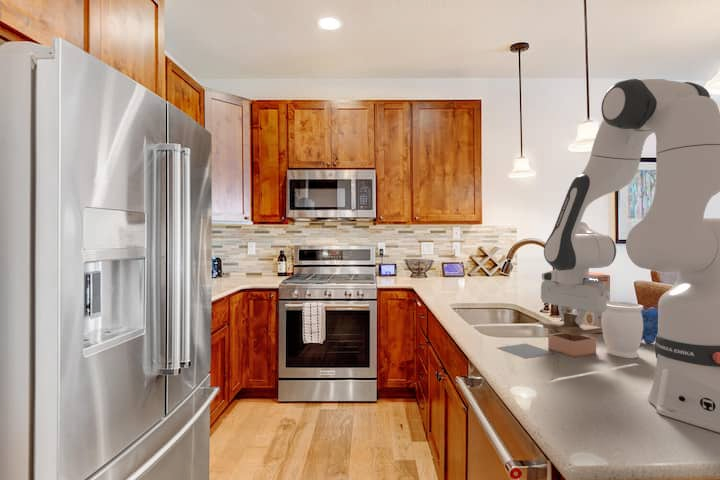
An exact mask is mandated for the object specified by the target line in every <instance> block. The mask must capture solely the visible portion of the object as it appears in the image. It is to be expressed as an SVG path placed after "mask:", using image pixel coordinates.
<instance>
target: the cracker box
mask: <svg viewBox="0 0 720 480" xmlns="http://www.w3.org/2000/svg"><path fill="white" fill-rule="evenodd" d="M589 279H594V280H595V279H597V280H600V282H602V283H603V284H604V286H605V296H606V302H611V300H610V299H611V298H610V297H611V275H609V274H603V273H598V272H591V271H589ZM599 284H601V283H599ZM574 313H575V314H579V313H577V309H574ZM601 320H602V313H593V312H588V311H586V314H585V316H584V317H583V318H582V323H583V324H588V325H592V326H596V327H600V328H602V324H601ZM596 334H603V331H602V332H597V333H596Z"/></svg>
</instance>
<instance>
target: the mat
mask: <svg viewBox="0 0 720 480" xmlns="http://www.w3.org/2000/svg"><path fill="white" fill-rule="evenodd" d="M497 349H498V350H500V351H504V352H506V353H508V354H509V353H510V354H511V355H514V356H517V357H520V358H522V359H525V360H527V359H533V358H539V357H546V356H552V355H557V353H558V352H557V353H556V352H555V351H552V350H549V349H548V350H547V349H545V348H541V347H538V346H535V345H532V344H528V343H520V344H513V345H506V346H505V345H504V346H500V347H499V346H498V347H497Z"/></svg>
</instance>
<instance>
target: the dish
mask: <svg viewBox="0 0 720 480" xmlns="http://www.w3.org/2000/svg"><path fill="white" fill-rule="evenodd" d="M547 336H548V345H547V346H548V347H547V349H548V351H551V352H555V353H556V352H557V353H559V354H562V355H565V356H567V357H572V358H579V357H583V356H589V355H590V356H591V355H596V354H597V338H595V337H591V336H588V335H585V334H584V335H577V336H573V335H569V334H566V333H562V332H559V333H551V334H548V335H547Z"/></svg>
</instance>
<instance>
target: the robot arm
mask: <svg viewBox="0 0 720 480" xmlns="http://www.w3.org/2000/svg"><path fill="white" fill-rule="evenodd" d="M601 115H602V121H601V123H600V125H599V127H598V130H597V133H596V135H595V138H594V141H593V144H592V148H591V151H590V156H589V160H588V161H587V164H586V166H585V167H584V169H583V171H582V172H581V173H580V174H579V175H577V177H575V178H574V179H573V181H572V182H571V184H570V186H569V188H568V190H567V193H566V195H565V198H564V200H563V204H561V205H562V206H561V208H560V211H559V214H558V216H557V219H556V221H555V224H554V227H553V229H552V232H551V233H550V235H549V237H548V238H547V240H546V242H545V244H544V247H543V256H544V260H546V262H547V263H548V264H549V266H551V268H553V270H550V271H546V272H543V273H541V279H542V282H541V286H540V299H541V301H542V303H544V304H549V305H554V306H557V309H558V312H559V315H561V316H560V318H561V319H560V320H561V321H564V313H567V309H569V308H570V309H574V310H575V309H577V313H579V314H578V316H577V318H574V324H578V325H581V324H582V318H583V317H584V316H585V314H586V311H588V312H593V313H603V312H605V310H606V309H607V304H606V296H605V286H604V284H603V283H602V282H600V280H597V279H595V280H594V279H589V272H590V271H589V269H600V268H601V269H603V268H607V267H609V266H610V265H612V264H613V263H614V261H615V259H616V255H617V246H616V243H615V241H614V239H613V238H611V237H610V236H609V235H607V234H603V233H601V232H597V231H595V230H593V229H592V228H590V227H589V226H588V224H587V223H586V222H584V221H582V219H583V216H584V213H585V212H586V209H587V208H588V206H590V204H592V203H593V202H594V201H595V200H598V199H599V198H602V197H603V196H607V195H609V194H611V193H614V192H617V191H619V190H622V189H624V188H625V187H626V186H628V185H629V184H631V182H632V181H633V180H634V179H635V177H636V175H637V172H638V169H639V167H640V166H639V165H640V162H641V159H642V158H641V157H642V153H643V149H644V145H645V143H646V140H647V138H648V137H649V136H650V135H652V134H654V135H655V140H656V142H655V143H656V144H655V145H656V148H655V152H656V153H655V155H656V156H655V159H656V160H655V161H656V162H655V163H656V173H655V174H656V175H655V178H656V179H655V180H656V182H655V191H654V196H653V199H652V202H651V205H650V206H649V208H648V211H647V212H646V214H644V217H643V218H642V219H641V220H640V221H639V222H638V223H637V224H635V225H634V226H633V227H632V228H630V231H629V233H627V237H626V240H625V241H626V242H625V248H626V253H627V257H628V258H629V259H630V261H631V262H632V263H633V264H634V265H635V266H637V267H638V268H641V269H646V270H650V271H655V272H661V273H678V276H677V278H676V280H675V283H674V284H673V286H672V287H670V288H669V289H668V290H667V291H665V292H664V293H663V294H662V295H661V296H660V297H659V299H658V302H657V309H658V334H657V335H656V338H655V341H654V343H655V345H654V347H655V348H654V349H655V350H654V353H655V358H656V363H655V364H656V365H655V373H654V376H653V377H654V378H653V382H652V385H651V388H650V389H651V390H650V392H649V394H648V399H647V400H648V401H649V402H650V404H652V405H653V406H654V407H655V409H656V412H657V413H658V414H660V415H663V416H664V417H667V418H671V419H675V420H678V421H681V422H683V423H687V424H690V425H693V426H697V427H700V428H704V429H707V430H710V431H713V432H716V433H719V434H720V218H719V217H718V218H715V217H714V218H713V217H712V218H709V217H708V218H704V215H705V211H706V209H707V206H708V203H709V202H710V200H711V199H712V198H713V197H714V196H716V195H717V194H719V193H720V108H719V106H718V104H717V102H716V101H715V100H714V99H713V98H711V95H710V93H709V90H708V89H706V88H705V87H704V86H702V85H699V84H698V83H694V82H690V81H684V82H683V81H677V80H669V79H668V80H667V79H664V78H649V79H648V78H645V79H638V78H631V79H630V78H629V79H624V80H621V81H618V82H615V83H614V84H613V85H612V86H610V87H609V89H608V90H607V91H606V93H605V95H604V97H603V99H602V102H601ZM599 283H601V284H599Z"/></svg>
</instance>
